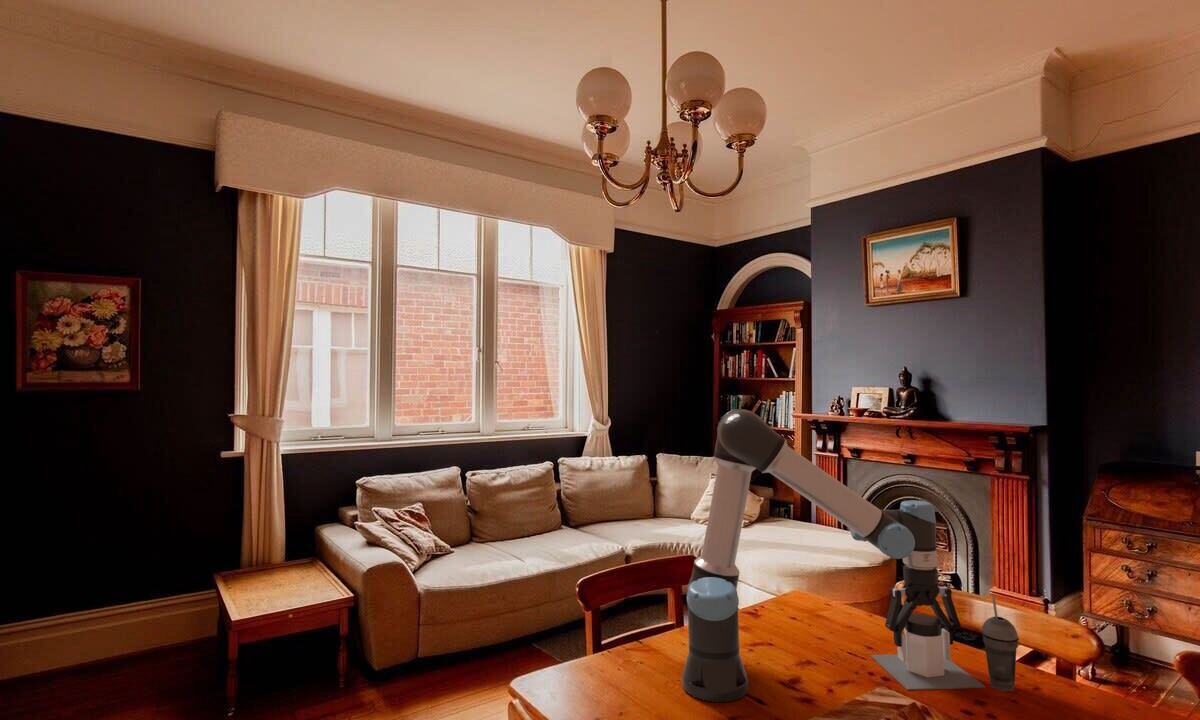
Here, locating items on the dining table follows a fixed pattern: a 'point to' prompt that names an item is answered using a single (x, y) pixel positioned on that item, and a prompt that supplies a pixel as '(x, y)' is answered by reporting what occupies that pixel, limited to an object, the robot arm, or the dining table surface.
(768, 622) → the dining table surface
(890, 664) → the mat
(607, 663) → the dining table surface
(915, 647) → the jar
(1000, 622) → the beverage cup
